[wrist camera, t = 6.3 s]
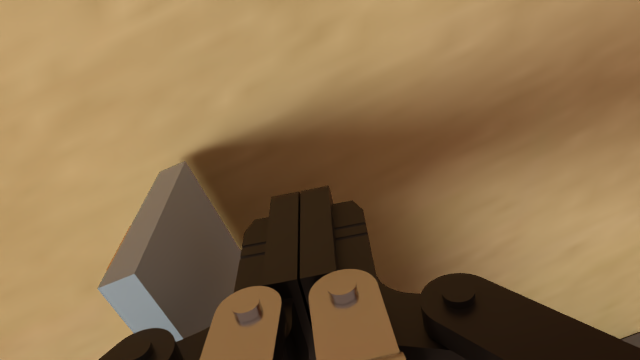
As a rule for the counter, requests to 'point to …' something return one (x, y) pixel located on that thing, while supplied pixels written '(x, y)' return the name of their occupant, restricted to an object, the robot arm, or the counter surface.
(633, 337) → the camera box
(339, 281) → the robot arm
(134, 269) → the door
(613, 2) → the counter surface
